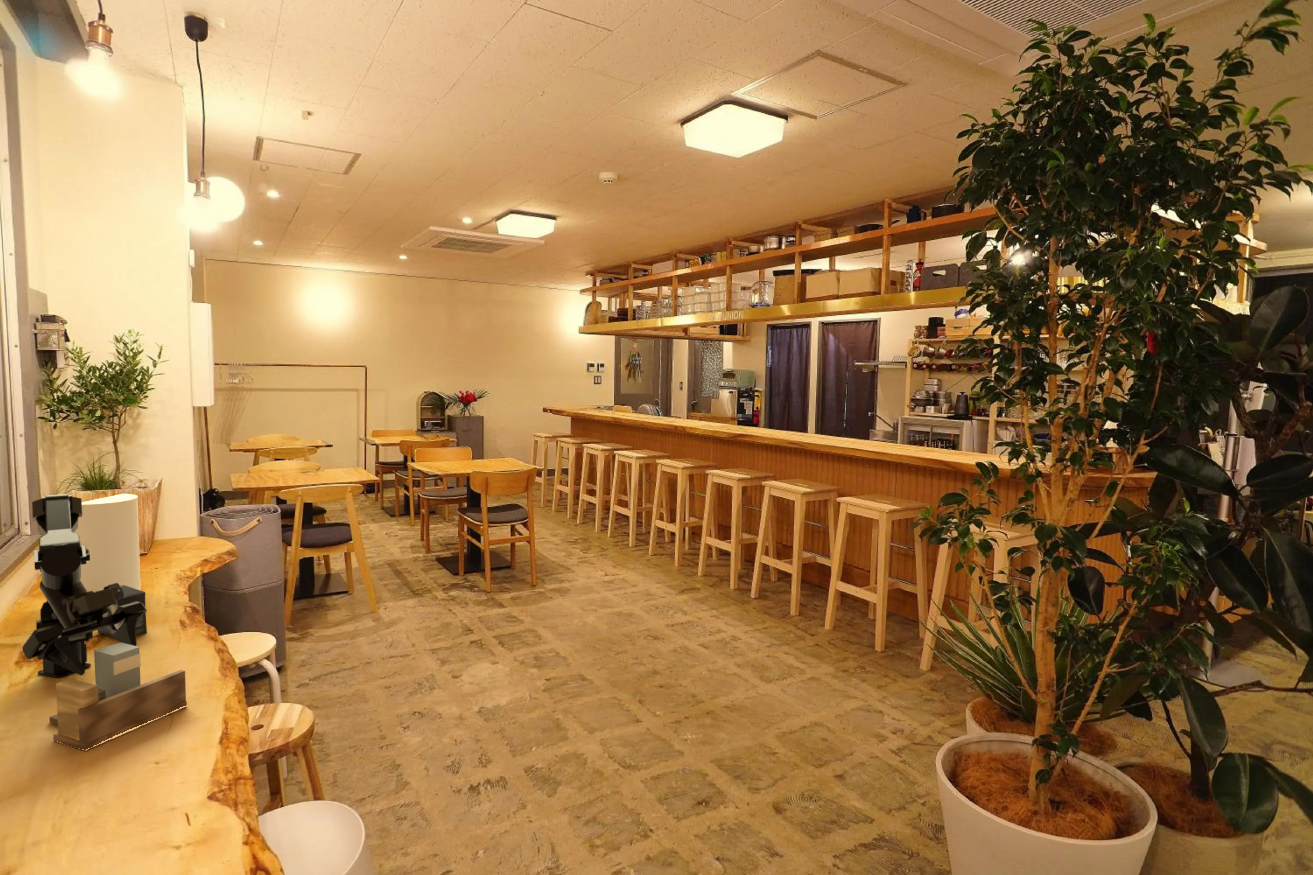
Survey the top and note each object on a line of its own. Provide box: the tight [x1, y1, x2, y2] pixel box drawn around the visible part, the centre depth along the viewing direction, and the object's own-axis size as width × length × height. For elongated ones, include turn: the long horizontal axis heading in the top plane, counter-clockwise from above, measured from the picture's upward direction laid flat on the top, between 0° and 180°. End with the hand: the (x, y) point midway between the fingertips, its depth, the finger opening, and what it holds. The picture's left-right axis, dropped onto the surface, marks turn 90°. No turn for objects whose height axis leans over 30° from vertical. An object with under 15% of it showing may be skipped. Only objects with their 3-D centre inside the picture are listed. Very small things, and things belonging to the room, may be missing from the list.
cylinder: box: [74, 493, 142, 592], centre depth 194 cm, size 17×17×28 cm
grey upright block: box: [93, 641, 142, 698], centre depth 131 cm, size 5×6×11 cm
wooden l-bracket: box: [49, 669, 188, 750], centre depth 128 cm, size 18×16×10 cm
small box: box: [96, 585, 148, 641], centre depth 170 cm, size 11×6×10 cm, turn 62°
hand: (110, 664), depth 131 cm, fingers open, 9 cm apart
